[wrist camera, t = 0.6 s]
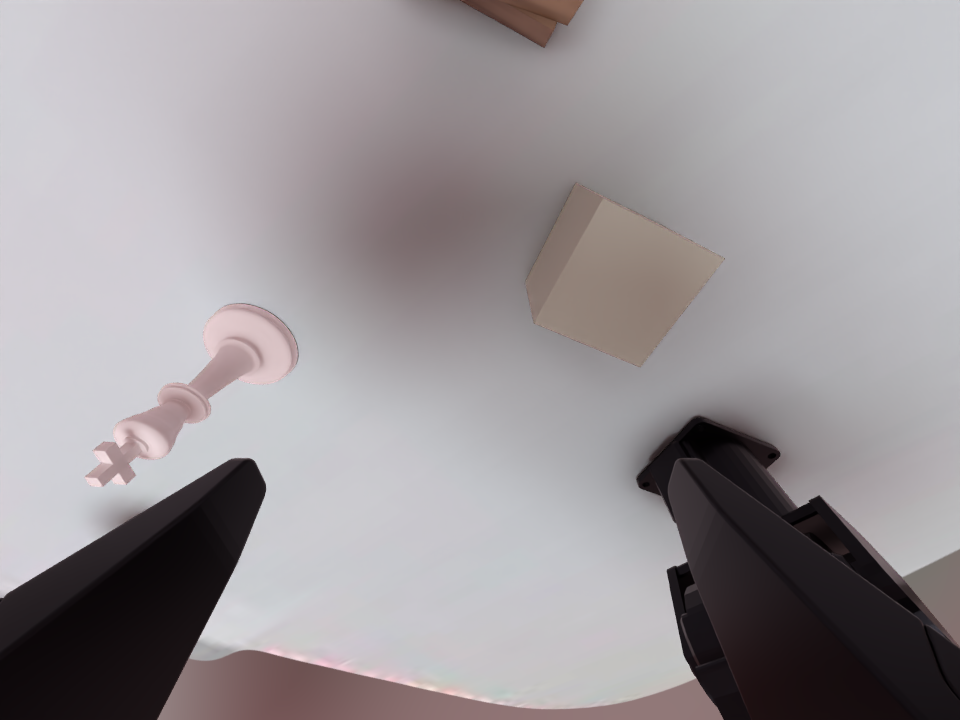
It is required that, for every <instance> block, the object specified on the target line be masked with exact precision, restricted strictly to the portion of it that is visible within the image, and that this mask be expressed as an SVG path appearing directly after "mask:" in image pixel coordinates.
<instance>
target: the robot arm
mask: <svg viewBox="0 0 960 720" xmlns="http://www.w3.org/2000/svg"><path fill="white" fill-rule="evenodd" d="M700 425H701V426H700ZM698 426H700V427H698ZM779 457H780V452H779V451H778V449H777V448H776V447H774V446H772V445H770V444H767V443H765V442H762V441H760V440H757V439H755V438H752V437H750V436H747V435H745V434H742V433H740V432H737V431H735V430H732V429H730V428H727V427H725V426H722V425H720V424H717V423H715V422H712V421H710V420H707V419H705V418H696V419H694V420H692V421H691V422H690V423H689V424H688V425H687V426H686V427H685V429H684V430H683V431H682V432H681V433H680V434H679V435H678V436H677V437H676V438H675V439H674V440H673V441H672V442H671V443H670V444H669V445H668V446H667V448H666V449H665V450H664V451H663V452H662V453H661V454H660V455H659V456H658V457H657V458H656V459H655V460H654V461H653V462H652V463H651V464H650V465H649V467H648V468H647V469H646V470H645V471H644V472H643V473H642V474H641V475H640V476H639V477H638V478H637V483H638V486H639V488H641V489H643V490H646V491H649V492H652V493H655V494H658V495H661V496H662V498H663V500H664V502H665V504H666V506H667V508H668V511H669V513H670V515H671V517H672V519H673V521H674V522H675V523H676V524H677V527H678V531H679V534H680V537H681V541H682V544H683V547H684V551H685V554H686V558H687V561H688V562H686V563H684V564H682V565H680V566H678V567H677V566H673V567H671V568H669V569H667V574H668V579H669V584H670V591H671V596H672V601H673V606H674V610H675V615H676V620H677V625H678V630H679V635H680V640H681V644H682V649H683V654H684V657H685V659H686V661H687V662H688V664H689V666H690V668H691V671H692V672H693V674H694V675H695V676H696V678H697V679H698V681H699V683H700V685H701V686H702V687H703V689H704V691H705V692H706V694H707V695H708V696H709V698H710V699H711V700H712V702H713V703H714V704H715V705H716V706H717V707H718V709H719V711H720V713H721V715H722V717H723V719H724V720H960V647H959V645H958V644H957V643H956V642H955V641H954V640H953V638H952V637H951V636H950V635H949V633H948V632H947V631H946V630H945V629H944V627H943V626H942V625H941V624H940V623H939V621H938V620H937V619H936V618H935V617H934V615H933V614H932V613H931V612H930V611H929V609H928V608H927V607H926V606H925V605H924V603H923V602H922V601H921V600H920V599H919V597H918V596H917V595H916V594H915V593H914V591H913V590H912V589H911V588H910V587H909V585H908V584H907V583H906V582H905V581H904V580H903V578H902V577H901V576H900V575H899V574H898V573H897V572H896V571H895V570H894V569H893V568H892V567H891V566H890V565H889V563H888V562H887V561H886V560H885V559H884V558H883V557H882V556H881V555H880V554H879V553H878V552H877V551H876V550H875V549H874V548H873V547H872V545H871V544H870V543H869V542H868V541H867V540H866V539H865V538H864V537H863V536H862V535H861V534H860V533H859V532H858V531H857V530H856V529H855V528H854V527H853V526H851V525H850V524H849V523H848V522H847V521H846V520H845V519H844V518H843V517H842V516H841V515H840V514H839V513H838V512H837V511H836V510H834V509H833V508H832V507H831V506H830V505H829V504H828V503H827V502H826V501H825V500H824V499H823V498H822V497H821V496H820V495H819V496H817V497H815V498H813V499H811V500H809V502H810V503H808V504H805V505H803V506H801V507H799V508H798V507H797V506H796V505H795V504H794V503H793V501H792V500H791V499H790V498H789V496H788V495H787V494H786V493H785V492H784V490H783V489H782V488H781V487H780V485H779V484H778V483H777V482H776V481H775V479H774V478H773V477H772V476H771V474H770V473H769V472H768V471H767V470H766V468H767V467H768V466H770V465H771V464H772V463H773V462H774V461H776V460H777V459H778V458H779ZM265 493H266V484H265V481H264V479H263V477H262V475H261V473H260V471H259V469H258V467H257V464H256V463H255V461H254V460H252V459H250V458H234V459H230V460H228V461H227V462H225V463H223V464H222V465H220V466H218V467H217V468H215V469H213V470H212V471H210V472H209V473H207V474H205V475H204V476H202V477H200V478H199V479H197V480H195V481H194V482H192V483H190V484H189V485H187V486H185V487H184V488H182V489H180V490H179V491H177V492H175V493H174V494H172V495H170V496H169V497H167V498H165V499H164V500H162V501H160V502H159V503H157V504H155V505H154V506H152V507H150V508H149V509H147V510H145V511H144V512H142V513H140V514H139V515H137V516H135V517H134V518H132V519H130V520H129V521H127V522H125V523H124V524H122V525H120V526H119V527H117V528H115V529H114V530H112V531H111V532H109V533H107V534H106V535H104V536H102V537H101V538H99V539H97V540H96V541H94V542H92V543H91V544H89V545H87V546H86V547H84V548H82V549H81V550H79V551H77V552H76V553H74V554H72V555H71V556H69V557H67V558H66V559H64V560H62V561H61V562H59V563H57V564H56V565H54V566H52V567H51V568H49V569H47V570H46V571H44V572H42V573H41V574H39V575H37V576H36V577H34V578H32V579H31V580H29V581H27V582H26V583H24V584H22V585H21V586H19V587H17V588H16V589H14V590H13V591H11V592H9V593H8V594H6V595H5V597H4V598H0V720H157V719H158V717H159V715H160V713H161V711H162V709H163V707H164V705H165V703H166V701H167V699H168V697H169V695H170V694H171V692H172V690H173V688H174V686H175V684H176V682H177V680H178V678H179V676H180V674H181V672H182V670H183V668H184V666H185V664H186V662H187V661H188V659H189V657H190V655H191V653H192V651H193V649H194V647H195V645H196V643H197V641H198V639H199V637H200V635H201V633H202V631H203V629H204V628H205V626H206V624H207V622H208V620H209V618H210V616H211V614H212V612H213V610H214V608H215V606H216V604H217V602H218V600H219V598H220V596H221V594H222V593H223V591H224V589H225V587H226V585H227V583H228V581H229V579H230V577H231V575H232V573H233V571H234V569H235V567H236V565H237V563H238V560H239V558H240V556H241V553H242V551H243V549H244V546H245V544H246V541H247V539H248V536H249V534H250V531H251V529H252V526H253V524H254V521H255V519H256V516H257V514H258V511H259V509H260V506H261V504H262V502H263V499H264V497H265Z"/></svg>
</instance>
